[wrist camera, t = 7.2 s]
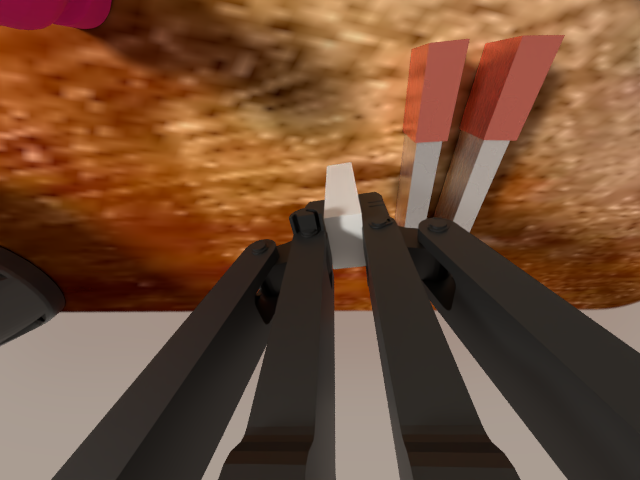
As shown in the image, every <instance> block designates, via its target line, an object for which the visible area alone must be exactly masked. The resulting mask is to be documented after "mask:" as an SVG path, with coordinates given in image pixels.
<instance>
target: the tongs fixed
mask: <svg viewBox="0 0 640 480" xmlns="http://www.w3.org/2000/svg"><path fill="white" fill-rule="evenodd" d="M564 36H565V35H538V36H519V37H514V38H509V39H505V40H500V41H495V42H491V43H486V44H485V47H484V50H483V54H482V57H481V60H480V63H479V66H478V69H477V73H476V76H475V79H474V82H473V85H472V89H471V92H470V95H469V98H468V101H467V105H466V108H465V111H464V114H463V117H462V120H461V124H460V127H459V129H461V132H460V135H459V138H458V142H457V145H456V148H455V151H454V154H453V157H452V160H451V163H450V167H449V170H448V173H447V176H446V179H445V182H444V185H443V188H442V192H441V195H440V198H439V201H438V204H437V207H436V210H435V213H434V217H437V218H438V217H440V218H445V219H449V220H451V221H453V222H455V223H457V224H458V225H459V226H461V227H462V228H464V229H465V230H466V231H468V232H470V230H471V228H472V226H473V223H474V221H475V219H476V217H477V214H478V212H479V210H480V207H481V205H482V203H483V201H484V198H485V196H486V194H487V192H488V189H489V187H490V185H491V182H492V180H493V178H494V176H495V173H496V171H497V169H498V167H499V164H500V162H501V160H502V158H503V155H504V153H505V151H506V148H507V146H508V144H509V142H510V141H517V139H518V137H519V134H520V132H521V130H522V128H523V126H524V123H525V121H526V119H527V117H528V115H529V112H530V110H531V108H532V106H533V104H534V101H535V99H536V97H537V95H538V93H539V90H540V88H541V86H542V84H543V82H544V80H545V77H546V75H547V73H548V71H549V69H550V66H551V64H552V62H553V60H554V58H555V55H556V53H557V51H558V49H559V47H560V44H561V42H562V40H563V38H564Z"/></svg>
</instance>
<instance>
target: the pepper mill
mask: <svg viewBox="0 0 640 480" xmlns="http://www.w3.org/2000/svg"><path fill="white" fill-rule="evenodd" d="M111 2H112V0H0V25H2V26H7V27H11V28H16V29H24V30H35V29H42V28H45V27H47V26H49V25H51V24H52V23H53V24H57V25H63V26H68V27H74V28H80V29H90V28H95V27H97V26H99V25H100V24H102V23H103V22H104V21H105V19H106V17H107V16H108V14H109V12H110V7H111Z"/></svg>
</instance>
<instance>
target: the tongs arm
mask: <svg viewBox="0 0 640 480" xmlns="http://www.w3.org/2000/svg"><path fill="white" fill-rule="evenodd" d="M469 40H470V39H463V40H453V41H444V42H435V43H428V44H425V45H423V46H420V47H417V48H414V49H412V52H411V61H410V70H409V79H408V88H407V97H406V106H405V115H404V124H403V132H404V133H405V138H404V146H403V155H402V163H401V172H400V180H399V189H398V197H397V206H396V214H395V221H396V222H397V225H398V226H402V227H407V228H418V225H419V223H420V222H421V221H422V220H425V219H426V218H427V214H428V209H429V204H430V199H431V194H432V189H433V184H434V179H435V175H436V170H437V165H438V160H439V155H440V150H441V145H442V141H448V136H449V132H450V127H451V123H452V118H453V113H454V109H455V104H456V99H457V95H458V90H459V86H460V81H461V76H462V72H463V67H464V63H465V58H466V53H467V49H468V44H469Z"/></svg>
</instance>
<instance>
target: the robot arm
mask: <svg viewBox="0 0 640 480" xmlns="http://www.w3.org/2000/svg"><path fill="white" fill-rule="evenodd" d="M289 220H290V223H291V227H292V230H293V234H294V236H293V240H292V241H290V242H288V243H285V244H282V245H279V246H276V244H275V242H274V241H273V240H269V239H265V240H259V241H256V242H254V243H252V244H250V245H249V246H248V247H247V248H246V249H245V250H244V251H243V253H242V254H241V255H240V256H239V257H238V258H237V260H236V261H235V262H234V263H233V264H232V266H231V267H230V268H229V269H228V270H227V272H226V273H225V274H224V275H223V276H222V277H221V279H220V280H219V281H218V282H217V283H216V285H215V286H214V287H213V288H212V289H211V291H210V292H209V293H208V294H207V295H206V297H205V298H204V299H203V300H202V301H201V302H200V304H199V305H198V306H197V307H196V308H195V310H194V311H193V312H192V313H191V314H190V316H189V317H188V318H187V319H186V320H185V321H184V323H183V324H182V325H181V326H180V327H179V329H178V330H177V331H176V332H175V333H174V335H173V336H172V337H171V338H170V339H169V340H168V342H167V343H166V344H165V345H164V346H163V348H162V349H161V350H160V351H159V352H158V354H157V355H156V356H155V357H154V358H153V359H152V361H151V362H150V363H149V364H148V365H147V367H146V368H145V369H144V370H143V371H142V373H141V374H140V375H139V376H138V378H136V380H135V381H134V382H133V383H132V385H131V386H130V387H129V388H128V389H127V390H126V392H125V393H124V394H123V395H122V396H121V398H120V399H119V400H118V401H117V402H116V403H115V405H114V406H113V407H112V408H111V409H110V411H109V412H108V413H107V414H106V415H105V417H104V418H103V419H102V420H101V421H100V422H99V424H98V425H97V426H96V427H95V429H94V430H93V431H92V432H91V433H90V434H89V435H88V437H87V438H86V439H85V440H84V441H83V443H82V444H81V445H80V446H79V447H78V449H77V450H76V451H75V452H74V453H73V454H72V456H71V457H70V458H69V459H68V460H67V462H66V463H65V464H64V465H63V466H62V468H61V469H60V470H59V471H58V472H57V473H56V475H55V476H54V477H53V478H52V480H201V479H202V477H203V475H204V473H205V471H206V469H207V466H208V465H209V463H210V460H211V458H212V456H213V454H214V452H215V450H216V448H217V446H218V444H219V442H220V440H221V438H222V436H223V434H224V432H225V429H226V427H227V425H228V423H229V421H230V419H231V417H232V415H233V413H234V411H235V409H236V407H237V405H238V403H239V401H240V399H241V397H242V395H243V392H244V390H245V388H246V386H247V384H248V382H249V380H250V378H251V376H252V374H253V372H254V370H255V367H256V366H257V364H258V362H259V359H260V357H261V355H262V353H263V351H264V349H265V347H266V345H267V347H266V351H265V355H264V359H263V363H262V367H261V371H260V376H259V380H258V384H257V388H256V392H255V396H254V400H253V404H252V409H251V413H250V417H249V421H248V425H247V429H246V432H245V435H244V437H243V439H242V441H241V442H240V443H239V444H238V445H237V446H236V447H235V448H234V449H233V450H232V451H231V452H230V453H229V455H228V457H227V459H226V461H225V463H224V465H223V467H222V470H221V473H220V476H219V479H218V480H336V476H335V475H336V474H335V375H334V374H335V367H334V366H335V364H334V363H335V361H334V360H335V359H334V275H333V270H332V264H333V269H340V268H350V267H359V266H366V272H367V283H368V286H369V291H370V297H371V303H372V310H373V316H374V322H375V327H376V334H377V340H378V346H379V352H380V359H381V365H382V371H383V377H384V383H385V389H386V395H387V401H388V408H389V413H390V420H391V426H392V431H393V438H394V444H395V450H396V456H397V462H398V469H399V475H400V480H520V478H519V476H518V474H517V472H516V470H515V468H514V467H513V465H512V464H511V463H510V461H509V459H508V458H507V457H506V455H505V454H504V453H503V452H502V451H501V450H500V449H499V448H498V447H497V446H496V445H494V444H493V443H492V442H491V440H490V439H489V437H488V436H487V434H486V432H485V430H484V428H483V426H482V424H481V421H480V419H479V417H478V415H477V412H476V409H475V407H474V405H473V402H472V400H471V398H470V395H469V393H468V390H467V388H466V386H465V383H464V381H463V379H462V376H461V374H460V372H459V370H458V367H457V364H456V362H455V360H454V357H453V355H452V353H451V350H450V348H449V345H448V343H447V341H446V338H445V336H444V334H443V331H442V329H441V327H440V324H439V322H438V320H437V317H436V315H435V312H434V310H433V308H432V305H431V303H432V304H433V305H434V306H435V308H436V309H437V310H438V312H439V313H440V314H441V315H442V317H443V318H444V319H445V321H446V322H447V323H448V325H449V326H450V327H451V328H452V330H453V331H454V332H455V334H456V335H457V336H458V338H459V339H460V340H461V342H462V343H463V344H464V345H465V347H466V348H467V349H468V350H469V352H470V353H471V354H472V356H473V357H474V358H475V359H476V361H477V362H478V364H479V365H480V366H481V367H482V369H483V370H484V371H485V373H486V374H487V375H488V376H489V378H490V379H491V380H492V382H493V383H494V384H495V386H496V387H497V388H498V389H499V391H500V392H501V393H502V395H503V396H504V397H505V399H506V400H507V401H508V403H510V405H511V406H512V408H513V409H514V410H515V412H516V413H517V414H518V415H519V417H520V418H521V419H522V421H523V422H524V423H525V424H526V426H527V427H528V428H529V430H530V431H531V432H532V434H533V435H534V436H535V438H536V439H537V440H538V441H539V443H540V444H541V445H542V447H543V448H544V449H545V451H546V452H547V453H548V454H549V456H550V457H551V458H552V460H553V461H554V462H555V464H556V465H557V466H558V467H559V469H560V470H561V471H562V473H563V474H564V475H565V476H566V478H567V479H568V480H640V353H639V352H637V351H636V350H634V349H633V348H631V347H630V346H629V345H627V344H625V343H624V342H623V341H621V340H620V339H618V338H617V337H616V336H615V335H613V334H612V333H610V332H609V331H608V330H606V329H605V328H603V327H602V326H600V325H599V324H598V323H596V322H595V321H593V320H592V319H591V318H589V317H588V316H586V315H585V314H584V313H582V312H581V311H579V310H578V309H576V308H575V307H574V306H572V305H571V304H569V303H568V302H567V301H565V300H564V299H562V298H561V297H560V296H558V295H557V294H555V293H554V292H552V291H551V290H550V289H548V288H547V287H545V286H544V285H543V284H541V283H540V282H538V281H537V280H536V279H534V278H533V277H531V276H530V275H529V274H527V273H526V272H524V271H523V270H521V269H520V268H519V267H517V266H516V265H514V264H513V263H512V262H510V261H509V260H507V259H506V258H505V257H503V256H502V255H500V254H499V253H497V252H496V251H495V250H493V249H492V248H490V247H489V246H488V245H486V244H485V243H483V242H482V241H481V240H479V239H478V238H476V237H475V236H473V235H472V234H471V233H469V232H468V231H466V230H465V229H464V228H462V227H461V226H459V225H458V224H457V223H455V222H453V221H451V220H449V219H445V218H440V217H438V218H437V217H433V218H427V219H425V220H422V221H421V222H420V223H419V225H418V228H407V227H402V226H398V225H397V222H396V221H395V220H394V219H393V218H391V217H390V216H389V214H388V211H387V209H386V206H385V204H384V201H383V199H382V196H381V195H380V194H378V193H377V192H371V193H364V194H357V189H356V184H355V179H354V174H353V169H352V164H351V162H349V163H343V164H337V165H331V166H327V176H326V190H325V200H320V201H313V202H309V203H308V204H307V205H306V207H305V208H303V209H300V210H297V211H295V212H294V213H292V214H291V215H290V217H289ZM258 289H260V290H259V291H258ZM257 291H258V293H257ZM256 293H257V294H256ZM429 300H430V301H431V303H430V301H429ZM64 306H65V299H64V296H63V294H62V292H61V291H60V289H59V288H58V286H57V285H56V284H55V283H54V282H53V281H52V280H51V279H50V278H49V277H48V276H47V275H46V274H44V273H43V272H42V271H41V270H39V269H38V268H37V267H35V266H34V265H32V264H31V263H29V262H28V261H26V260H25V259H23V258H21V257H19V256H18V255H16V254H14V253H12V252H10V251H8V250H6V249H4V248H1V247H0V346H2V345H4V344H6V343H7V342H10V341H12V340H14V339H16V338H17V337H19V336H21V335H23V334H25V333H27V332H29V331H31V330H33V329H35V328H37V327H39V326H41V325H43V324H45V323H47V322H48V321H50V320H51V319H52V318H53V317H54V316H55V315H57V314H58V313H59V312H60V311H61V310H63V308H64Z"/></svg>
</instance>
